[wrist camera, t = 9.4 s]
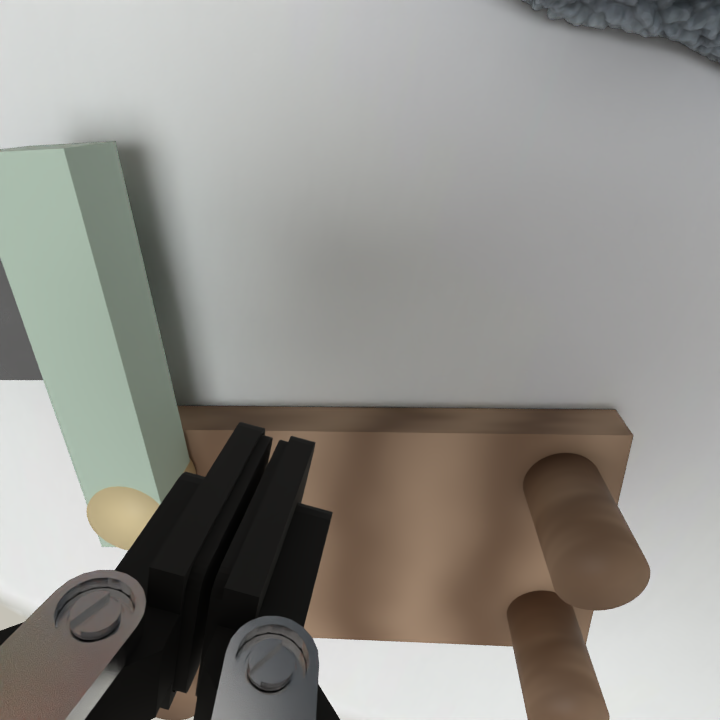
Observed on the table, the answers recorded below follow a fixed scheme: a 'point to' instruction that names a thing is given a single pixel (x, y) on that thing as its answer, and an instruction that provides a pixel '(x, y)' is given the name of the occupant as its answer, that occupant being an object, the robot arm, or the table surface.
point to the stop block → (14, 338)
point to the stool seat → (460, 531)
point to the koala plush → (647, 19)
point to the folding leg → (93, 328)
